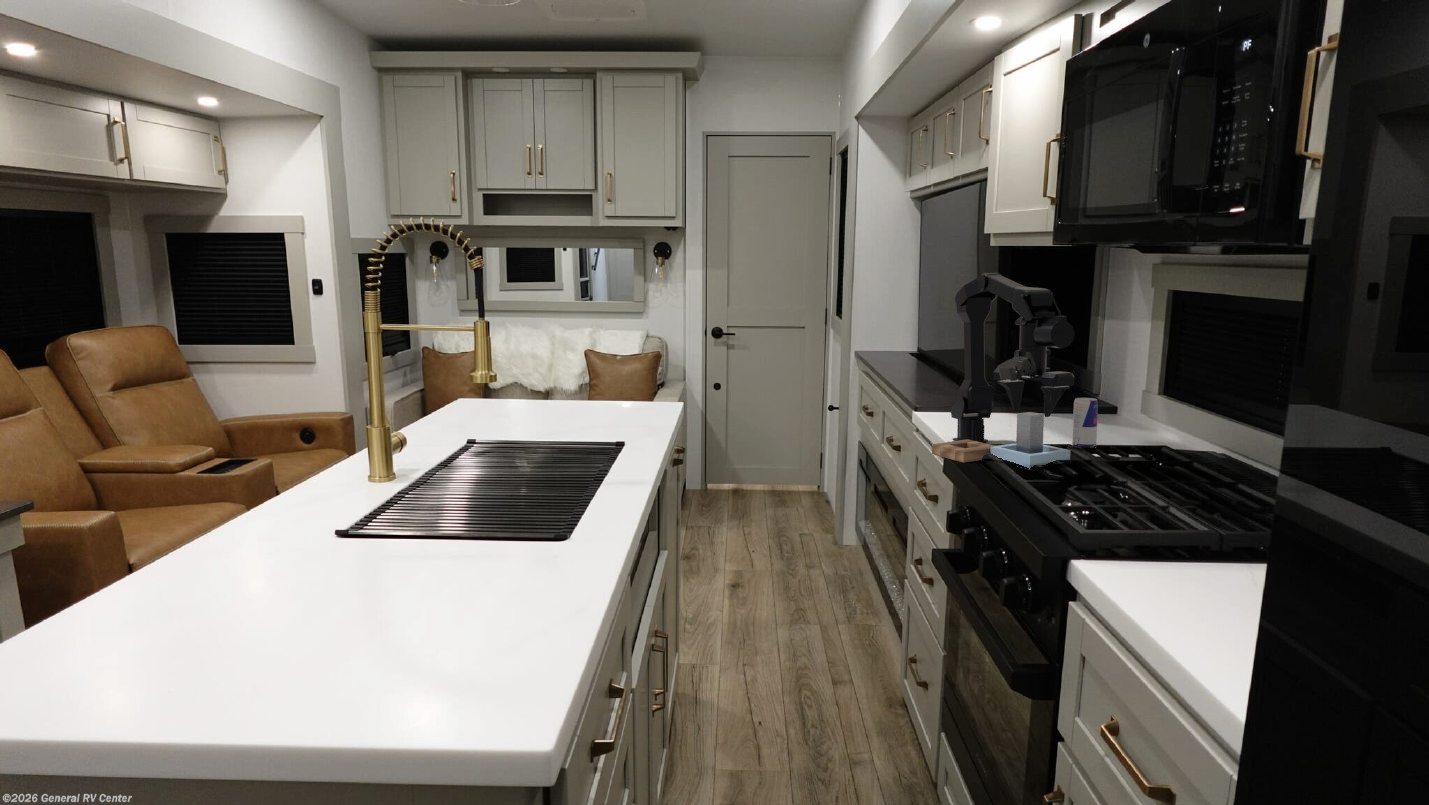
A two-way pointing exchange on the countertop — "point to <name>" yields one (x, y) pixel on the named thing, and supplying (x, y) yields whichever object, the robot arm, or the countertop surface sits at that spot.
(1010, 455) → the blue tray
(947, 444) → the walnut socket block
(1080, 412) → the energy drink
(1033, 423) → the gray rectangular block
